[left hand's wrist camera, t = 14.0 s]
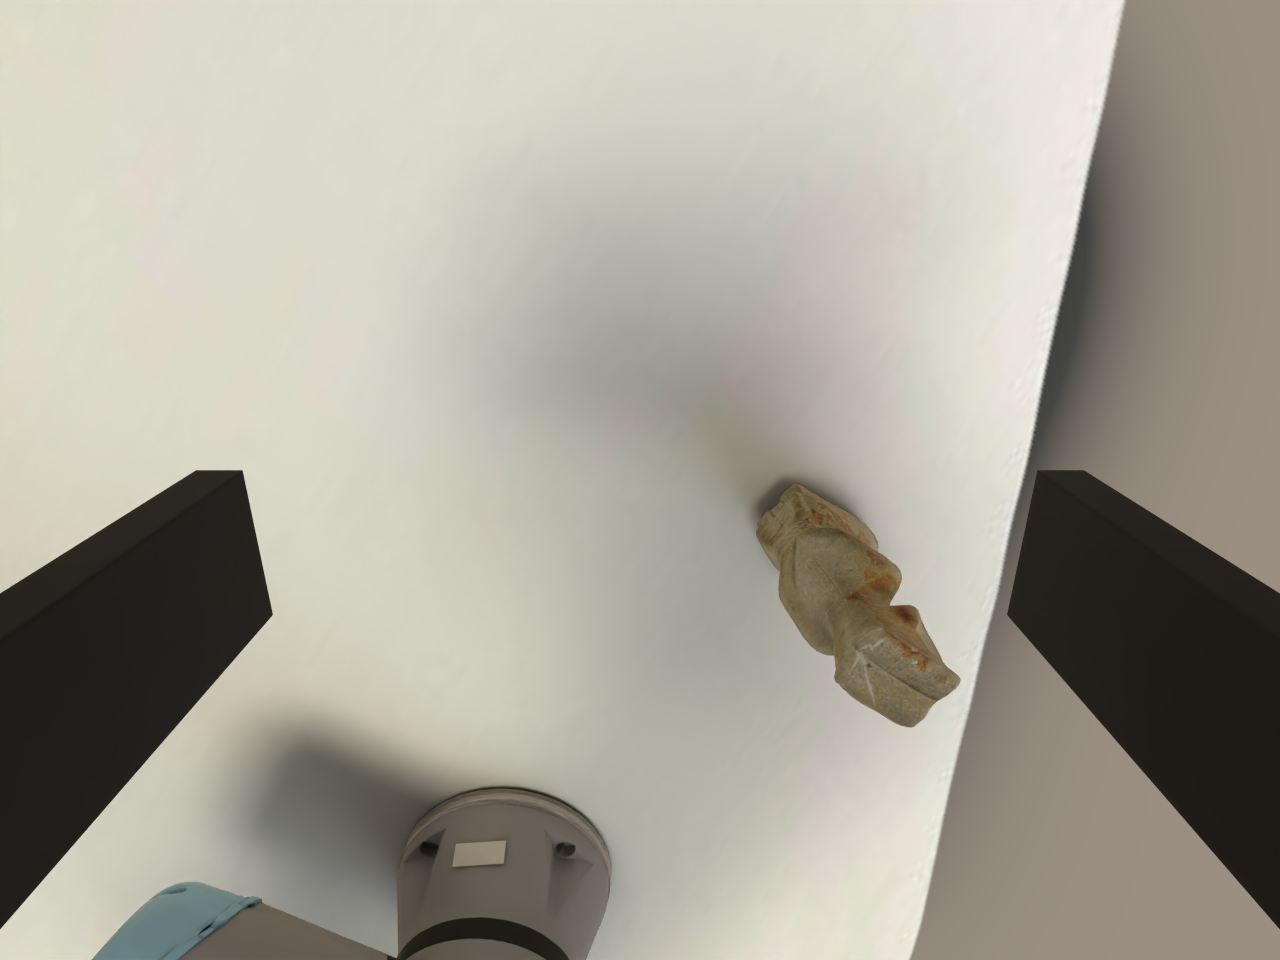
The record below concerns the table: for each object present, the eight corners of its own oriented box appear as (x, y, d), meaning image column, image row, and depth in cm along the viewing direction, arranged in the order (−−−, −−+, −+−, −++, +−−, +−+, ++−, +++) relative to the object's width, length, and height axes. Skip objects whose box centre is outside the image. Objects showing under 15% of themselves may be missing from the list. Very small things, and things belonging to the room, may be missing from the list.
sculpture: (816, 591, 46) (893, 765, 32) (732, 523, 44) (774, 675, 30) (885, 526, 44) (998, 680, 31) (800, 454, 43) (878, 581, 29)
